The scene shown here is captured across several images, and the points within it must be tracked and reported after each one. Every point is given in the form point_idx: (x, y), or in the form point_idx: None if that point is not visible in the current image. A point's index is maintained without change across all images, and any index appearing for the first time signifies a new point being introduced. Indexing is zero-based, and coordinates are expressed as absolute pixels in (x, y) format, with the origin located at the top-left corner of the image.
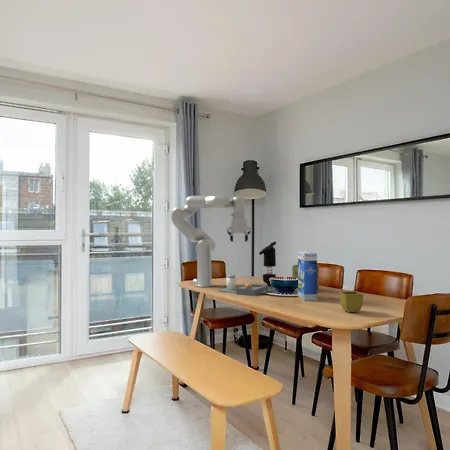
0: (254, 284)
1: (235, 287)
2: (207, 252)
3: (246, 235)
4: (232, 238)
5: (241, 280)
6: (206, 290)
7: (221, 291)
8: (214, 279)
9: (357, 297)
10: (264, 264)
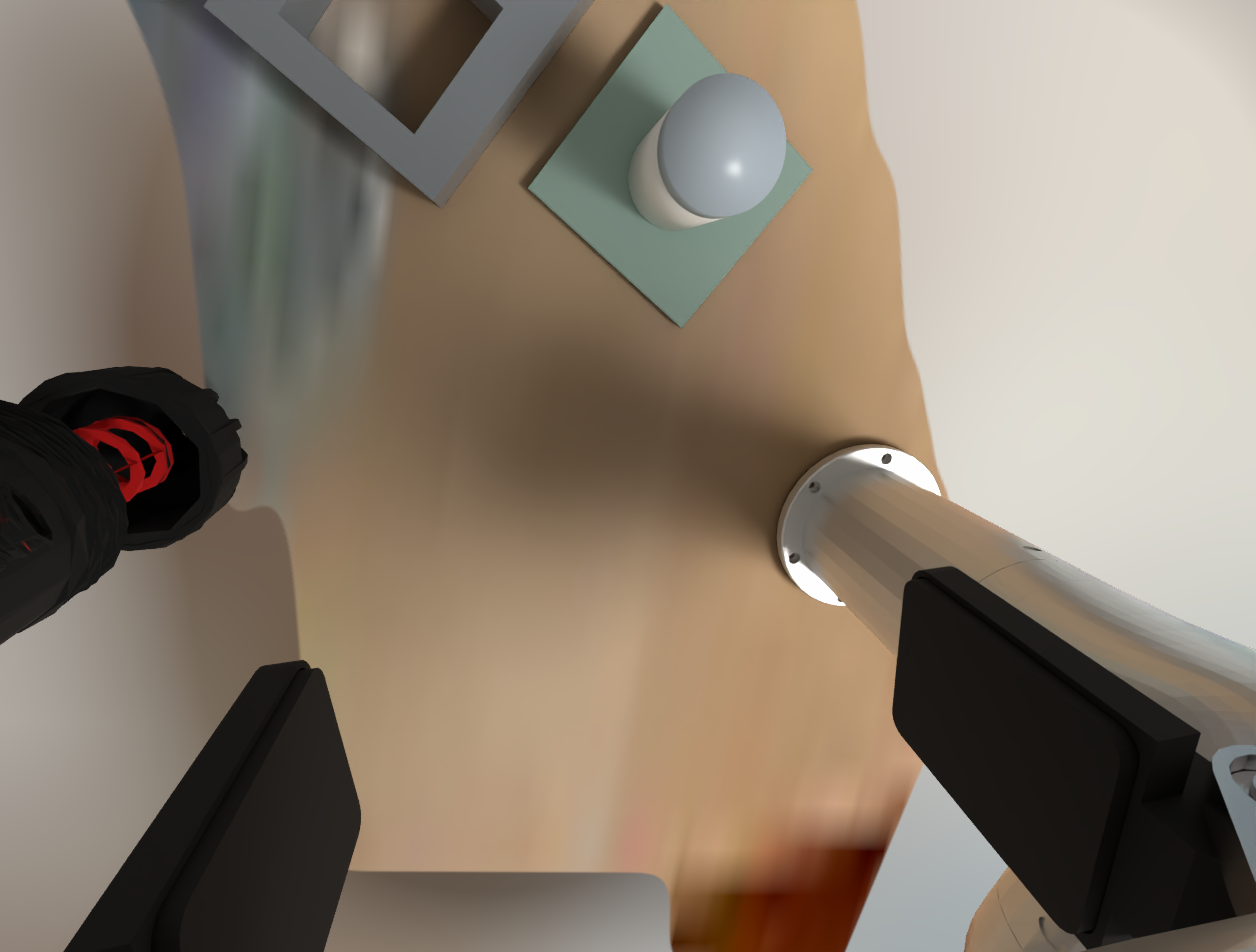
0: (397, 148)
1: (637, 150)
2: (1157, 648)
3: (121, 943)
4: (1027, 632)
5: (470, 786)
6: (899, 252)
7: None
8: (702, 843)
9: None
10: (92, 485)
